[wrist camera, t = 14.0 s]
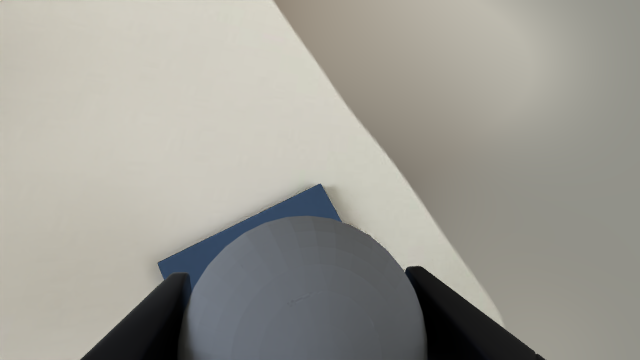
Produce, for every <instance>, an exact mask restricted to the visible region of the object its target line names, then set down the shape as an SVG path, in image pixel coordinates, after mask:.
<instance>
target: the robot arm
mask: <svg viewBox="0 0 640 360" xmlns="http://www.w3.org/2000/svg"><path fill="white" fill-rule="evenodd" d="M405 274H406V276H407V277H408V279H409V281H410V283H411V284H412V286H413V288H414V290H415V292H416V295H417V298H418V301H419V304H420V306H421V309H422V312H423V317H424V322H425V328H426V333H427V360H545V359H544V358H543V357H541V356H540V355H539V354H535V352H534V351H533V350H532V349H530V348H529V347H528V346H527V345H525V344H524V343H522V342H521V341H520V340H519V339H517V338H516V337H515V336H513V335H512V334H511V333H509V332H508V331H507V330H505V329H504V328H503V327H501V326H500V325H499V324H497V323H496V322H495V321H493V320H492V319H491V318H489V317H488V316H487V315H485V314H484V313H483V312H481V311H480V310H479V309H477V308H476V307H475V306H473V305H472V304H471V303H469V302H468V301H467V300H465V299H464V298H463V297H461V296H460V295H459V294H457V293H456V292H455V291H453V290H452V289H451V288H449V287H448V286H447V285H445V284H444V283H443V282H441V281H440V280H439V279H437V278H436V277H435V276H433V275H432V274H431V273H429V272H428V271H427V270H425V269H424V268H423V267H421V266H410V267H407V268H406V270H405ZM191 294H192V289H191V281H190V275H189V273H187V272H174V273H172V274H170V275H169V276H168V277H167V278H166V279H165V280H164V281H163V282H162V283H161V284H160V285H159V286H157V287H156V288H155V289H154V290H153V291H152V292H151V293H150V294H149V295H148V296H147V297H146V298H145V299H144V300H143V301H142V302H141V303H140V304H139V305H137V306H136V307H135V308H134V309H133V310H132V311H131V312H130V313H129V314H128V315H127V316H126V317H125V318H124V319H123V320H122V321H121V322H120V323H118V324H117V325H116V326H115V327H114V328H113V329H112V330H111V331H110V332H109V333H108V334H107V335H106V336H105V337H104V338H103V339H102V340H101V341H100V342H98V343H97V344H96V345H95V346H94V347H93V348H92V349H91V350H90V351H89V352H88V353H87V354H86V355H85V356H84V357H83V358H82V359H81V360H177V347H178V337H179V333H180V328H181V323H182V319H183V314H184V311H185V308H186V306H187V303H188V301H189V298H190V296H191Z"/></svg>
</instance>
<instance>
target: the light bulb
mask: <svg viewBox="0 0 640 360" xmlns="http://www.w3.org/2000/svg"><path fill="white" fill-rule="evenodd" d="M177 360H427V333H426V328H425V322H424V317H423V312H422V309H421V306H420V304H419V301H418V298H417V295H416V292H415V290H414V288H413V286H412V284H411V283H410V281H409V279H408V277H407V276H406V274H405V272H404V270H403V269H402V268H401V266H400V265H399V264H398V263H397V262H396V260H395V259H394V258H393V257H392V256H391V254H390V253H389V252H388V251H387V250H386V249H385V248H384V247H383V246H381V245H380V244H379V243H378V242H377V241H375V240H374V239H373V238H372V237H371V236H369V235H368V234H366V233H364V232H362V231H360V230H359V229H357V228H355V227H353V226H351V225H349V224H346V223H343V222H340V221H337V220H334V219H331V218H323V217H315V216H295V217H285V218H281V219H277V220H274V221H270V222H266V223H264V224H261V225H259V226H257V227H255V228H253V229H251V230H249V231H247V232H245V233H243V234H242V235H241V236H239V237H238V238H237V239H235V240H234V241H233V242H231V243H230V244H229V245H227V246H226V247H225V248H224V249H223V250H222V251H221V252H220V253H219V254H218V255H217V256H216V257H215V258H214V260H213V261H212V262H211V263H210V264H209V265H208V266H207V268H206V269H205V271H204V273H203V274H202V276H201V277H200V279H199V280H198V282H197V283H196V285H195V287H194V289H193V291H192V294H191V296H190V298H189V301H188V303H187V306H186V308H185V311H184V314H183V319H182V323H181V328H180V333H179V337H178V347H177Z"/></svg>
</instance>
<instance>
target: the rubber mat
mask: <svg viewBox="0 0 640 360" xmlns="http://www.w3.org/2000/svg"><path fill="white" fill-rule="evenodd" d="M295 216H315V217H323V218H331V219H334V220H337V221H340V222H342V221H341V219H340V218H339V216H338V214H337V212H336V210H335V208H334V207H333V205H332V203H331V201H330V199H329V198H328V196H327V194H326V192H325V190H324V188H323V187H322V185H321V184H318V185H316V186H314V187H312V188H310V189H308V190H306V191H304V192H302V193H300V194H298V195H296V196H294V197H291V198H289V199H287V200H285V201H283V202H281V203H279V204H277V205H275V206H273V207H271V208H269V209H267V210H265V211H263V212H261V213H259V214H257V215H255V216H252V217H250V218H248V219H246V220H244V221H242V222H240V223H238V224H236V225H234V226H232V227H230V228H228V229H226V230H224V231H222V232H220V233H218V234H216V235H214V236H211V237H209V238H207V239H205V240H203V241H201V242H199V243H197V244H195V245H193V246H191V247H189V248H187V249H185V250H183V251H181V252H179V253H177V254H175V255H172V256H170V257H168V258H166V259H164V260H162V261H160V262H158V266H159V268H160V271H161V273H162V275H163V278H164V280H165V279H166V278H167V277H168V276H169V275H170V274H172V273H174V272H187V273H189V275H190V281H191V289H192V291H193V289H194V287H195V285H196V283H197V282H198V280H199V279H200V277H201V276H202V274H203V273H204V271H205V269H206V268H207V266H208V265H209V264H210V263H211V262H212V261H213V260H214V258H215V257H216V256H217V255H218V254H219V253H220V252H221V251H222V250H223V249H224V248H225V247H226V246H227V245H229V244H230V243H231V242H233V241H234V240H235V239H237V238H238V237H239V236H241V235H242V234H243V233H245V232H247V231H249V230H251V229H253V228H255V227H257V226H259V225H261V224H264V223H266V222H270V221H274V220H277V219H281V218H285V217H295Z"/></svg>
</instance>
